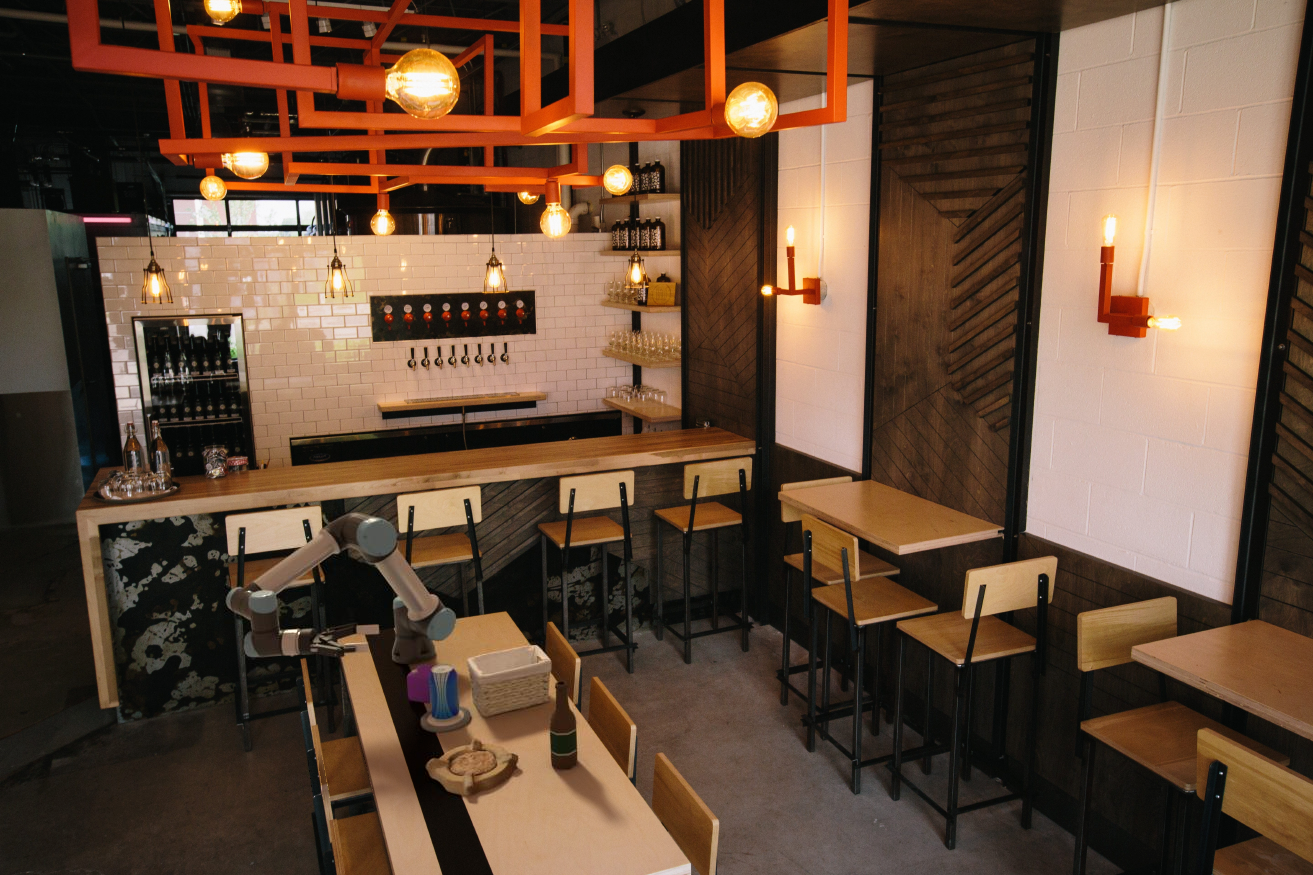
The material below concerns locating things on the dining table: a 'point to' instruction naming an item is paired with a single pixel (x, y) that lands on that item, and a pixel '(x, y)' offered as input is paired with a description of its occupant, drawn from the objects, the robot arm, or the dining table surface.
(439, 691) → the beer can
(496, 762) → the ashtray
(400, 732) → the dining table surface
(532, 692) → the storage basket
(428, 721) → the coaster plate
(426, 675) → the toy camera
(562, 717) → the beer bottle
